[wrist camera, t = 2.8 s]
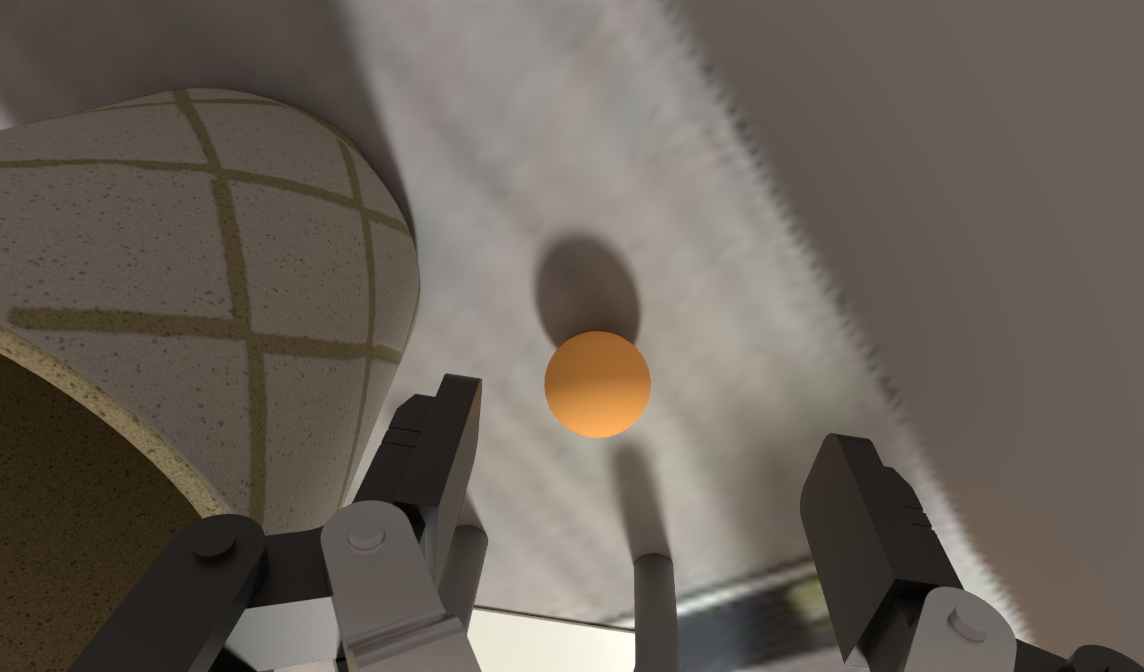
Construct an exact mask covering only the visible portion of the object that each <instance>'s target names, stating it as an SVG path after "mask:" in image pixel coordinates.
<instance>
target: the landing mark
mask: <svg viewBox="0 0 1144 672" xmlns="http://www.w3.org/2000/svg"><path fill="white" fill-rule="evenodd" d="M467 637H468V639H469V642H470V644H471V647H472V649H473V652H474V654H475V656H476V659H477V661H478V664H479V666H480V669H481V671H482V672H633V670H634V667H635V631H628V630H622V629H615V628H608V627H602V626H595V625H588V624H582V623H575V622H568V621H562V620H555V619H549V618H542V617H535V616H529V615H522V614H515V613H509V612H502V611H495V610H489V609H482V608H476V607H473V611H472V615H471V620H470V624H469V629H468V633H467Z"/></svg>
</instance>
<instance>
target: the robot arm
mask: <svg viewBox="0 0 1144 672" xmlns="http://www.w3.org/2000/svg"><path fill="white" fill-rule="evenodd" d="M481 394H482V379H480V378H473V377H467V376H460V375H454V374H447V373H446V374H445V375H444V377H443V380H442V382H441V385H440V387H439V390H438V392H437V395H436V397H432V396H426V395H419V394H415V395H413V396H412V397H411V398H410V399H408V400H407V401H406V402H405V403H403V404H402V405H401V406H400V407H398V408H397V410H396V412H395V415H394V417H393V419H392V421H391V423H390V425H389V429H388V430H387V431H386V433H385V435H384V438H383V440H382V443H381V445H380V446H379V448H378V450H377V452H376V454H375V456H374V458H373V461H372V463H371V465H370V467H369V469H368V471H367V473H366V475H365V477H364V479H363V481H362V484H361V486H360V488H359V490H358V492H357V494H356V496H355V498H354V500H353V502H352V504H350V505H348V506H345V507H343V508H341V509H340V510H338V511H337V512H335V513H334V514H333V515H332V516H331V517H330V518H329V519H328V520H327V522H326V523H325V525H323V526H321V527H318V528H315V529H311V530H306V531H300V532H291V533H283V534H274V535H265V534H264V531H263V529H262V527H261V526H260V525H259V524H258V523H257V522H256V521H254V520H253V519H251V518H249V517H247V516H243V515H238V514H219V515H213V516H210V517H206V518H203V519H200V520H198V521H196V522H194V523H192V524H190V525H188V526H187V527H185V528H184V529H182V530H181V531H180V532H179V533H177V534H176V535H175V536H174V537H173V538H172V539H171V541H170V542H169V543H168V544H167V546H166V547H165V548H164V549H163V551H162V552H161V553H160V554H159V556H158V557H157V558H156V559H155V561H154V562H153V563H152V564H151V566H150V567H149V568H148V569H147V571H146V572H145V573H144V574H143V576H142V577H141V578H140V579H139V581H138V582H137V583H136V584H135V586H134V587H133V588H132V589H131V591H130V592H129V593H128V594H127V596H126V597H125V598H124V599H123V601H122V602H121V603H120V605H119V606H118V607H117V608H116V610H115V611H114V612H113V613H112V615H111V616H110V617H109V618H108V620H107V621H106V622H105V623H104V625H103V626H102V627H101V628H100V630H99V631H98V632H97V633H96V635H95V636H94V637H93V638H92V640H91V641H90V642H89V643H88V645H87V646H86V647H85V648H84V650H83V651H82V652H81V653H80V655H79V656H78V657H77V658H76V660H75V661H74V662H73V663H72V665H71V666H70V667H69V668H68V670H67V671H66V672H274V670H275V669H277V668H283V667H289V666H295V665H301V664H307V663H313V662H318V661H324V660H330V659H333V663H334V667H335V671H336V672H482V671H481V669H480V666H479V664H478V661H477V659H476V656H475V654H474V652H473V649H472V647H471V644H470V642H469V639H468V637H467V634H466V632H465V630H464V627H463V625H462V623H461V621H460V620H459V618H458V617H457V615H456V614H454V613H451V614H447V613H446V611H445V609H444V607H443V605H442V603H441V600H440V597H439V595H438V592H437V590H438V586H439V583H440V579H441V576H442V572H443V569H444V565H445V562H446V558H447V555H448V551H449V548H450V544H451V541H452V537H453V534H454V530H455V527H456V523H457V520H458V516H459V513H460V509H461V506H462V502H463V499H464V495H465V492H466V488H467V485H468V481H469V478H470V474H471V471H472V467H473V463H474V459H475V454H476V448H477V441H478V431H479V418H480V406H481ZM800 513H801V518H802V522H803V525H804V529H805V532H806V536H807V539H808V542H809V546H810V549H811V553H812V556H813V559H814V563H815V566H816V570H817V573H818V576H819V580H820V583H821V586H822V590H823V593H824V597H825V600H826V603H827V607H828V610H829V614H830V617H831V620H832V624H833V627H834V631H835V634H836V637H837V641H838V644H839V648H840V651H841V654H842V658H843V661H844V664H847V665H854V666H860V667H867V668H869V669H870V672H1144V668H1143V667H1142V666H1140V665H1139V664H1138V663H1136V662H1135V661H1133V660H1132V659H1130V658H1129V657H1127V656H1125V655H1123V654H1121V653H1119V652H1117V651H1115V650H1112V649H1110V648H1106V647H1103V646H1098V645H1085V646H1081V647H1079V648H1078V649H1077V650H1076V651H1075V652H1074V653H1073V654H1072V655H1071V656H1070V658H1069V659H1068V660H1067V659H1064V658H1062V657H1059V656H1057V655H1055V654H1052V653H1050V652H1047V651H1045V650H1042V649H1040V648H1038V647H1035V646H1033V645H1030V644H1028V643H1025V642H1023V641H1021V640H1019V639H1016V638H1015V635H1014V633H1013V631H1012V629H1011V627H1010V626H1009V624H1008V623H1007V621H1006V620H1005V619H1004V618H1003V616H1002V615H1001V614H1000V613H999V612H998V611H997V610H996V609H994V608H993V607H992V606H991V605H990V604H988V603H987V602H985V601H984V600H982V599H981V598H979V597H977V596H976V595H974V594H972V593H969V592H967V591H965V590H964V588H963V586H962V584H961V582H960V580H959V578H958V576H957V574H956V573H955V571H954V569H953V567H952V565H951V563H950V561H949V559H948V557H947V555H946V553H945V551H944V549H943V547H942V545H941V543H940V541H939V539H938V537H937V535H936V533H935V531H934V530H932V529H931V527H932V525H931V523H930V521H929V519H928V518H927V516H926V514H925V513H923V508H922V506H921V504H920V502H919V500H918V498H917V496H916V494H915V492H914V490H913V488H912V487H911V486H910V485H909V484H908V483H907V482H906V481H905V480H904V479H903V478H902V477H901V476H900V475H899V474H898V473H897V472H896V471H895V470H894V469H893V468H891V467H884V466H883V464H882V462H881V460H880V458H879V456H878V454H877V451H876V449H875V447H874V445H873V443H872V442H871V441H870V440H869V439H866V438H859V437H853V436H846V435H840V434H833V433H831V434H829V435H827V436H826V438H825V439H824V441H823V443H822V446H821V448H820V450H819V452H818V455H817V457H816V459H815V462H814V464H813V466H812V468H811V471H810V473H809V475H808V478H807V480H806V482H805V484H804V487H803V490H802V494H801V501H800Z"/></svg>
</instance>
